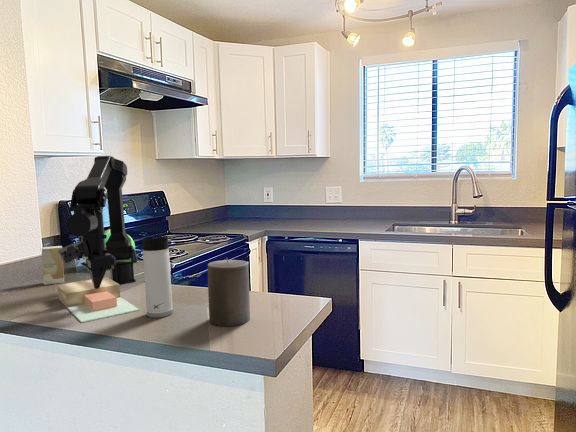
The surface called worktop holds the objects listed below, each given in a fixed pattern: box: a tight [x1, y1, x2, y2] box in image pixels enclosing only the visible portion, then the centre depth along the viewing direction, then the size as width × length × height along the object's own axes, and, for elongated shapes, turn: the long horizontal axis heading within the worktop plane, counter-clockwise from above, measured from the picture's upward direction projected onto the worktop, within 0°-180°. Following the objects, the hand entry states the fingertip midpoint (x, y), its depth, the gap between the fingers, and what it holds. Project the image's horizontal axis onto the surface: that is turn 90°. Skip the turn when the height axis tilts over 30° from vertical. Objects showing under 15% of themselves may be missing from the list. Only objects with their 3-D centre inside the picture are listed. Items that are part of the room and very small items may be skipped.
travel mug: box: [141, 235, 174, 319], centre depth 111 cm, size 6×7×20 cm
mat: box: [67, 296, 140, 324], centre depth 118 cm, size 14×16×1 cm
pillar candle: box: [207, 257, 251, 328], centre depth 105 cm, size 10×10×15 cm
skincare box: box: [41, 245, 65, 286], centre depth 150 cm, size 6×4×12 cm
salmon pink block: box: [84, 291, 117, 311], centre depth 120 cm, size 6×9×2 cm, turn 38°
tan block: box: [56, 276, 121, 309], centre depth 129 cm, size 14×13×4 cm
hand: (96, 288), depth 121 cm, fingers closed
